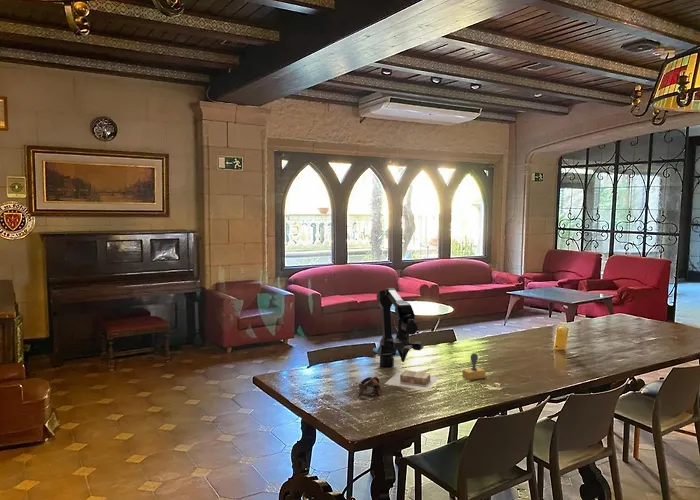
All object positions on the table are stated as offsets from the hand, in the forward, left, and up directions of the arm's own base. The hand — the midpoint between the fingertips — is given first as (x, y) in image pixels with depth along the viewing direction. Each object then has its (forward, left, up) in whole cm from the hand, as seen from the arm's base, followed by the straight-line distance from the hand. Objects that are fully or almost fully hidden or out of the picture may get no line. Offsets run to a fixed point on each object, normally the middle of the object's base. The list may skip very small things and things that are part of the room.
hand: (403, 361), depth 253 cm
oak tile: (0, 0, -7) cm, 7 cm away
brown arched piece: (-8, -22, -9) cm, 25 cm away
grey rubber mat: (+5, 0, -9) cm, 10 cm away
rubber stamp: (+30, +19, -9) cm, 37 cm away
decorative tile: (-23, +43, -10) cm, 50 cm away
